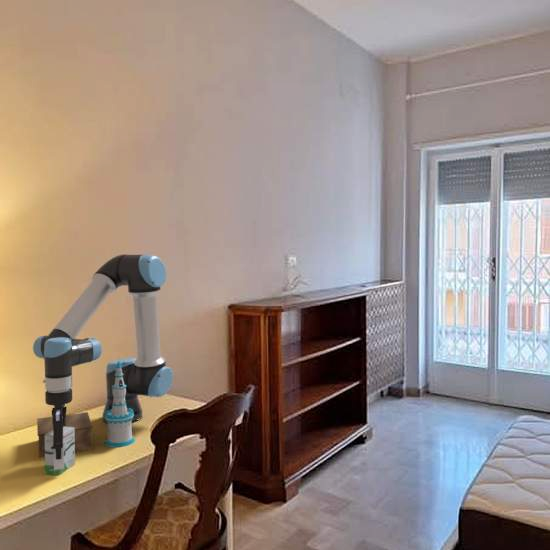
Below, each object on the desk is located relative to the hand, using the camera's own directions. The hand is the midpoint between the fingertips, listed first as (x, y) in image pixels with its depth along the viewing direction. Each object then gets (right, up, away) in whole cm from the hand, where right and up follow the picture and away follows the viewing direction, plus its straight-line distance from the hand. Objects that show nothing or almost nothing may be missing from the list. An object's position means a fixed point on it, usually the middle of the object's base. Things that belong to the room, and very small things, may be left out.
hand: (60, 461), depth 157 cm
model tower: (+12, -1, +22) cm, 25 cm away
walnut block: (-6, -1, +19) cm, 20 cm away
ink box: (0, -2, 0) cm, 2 cm away
